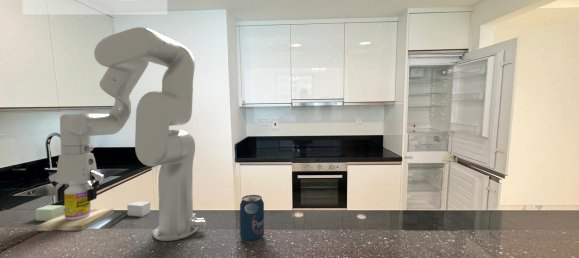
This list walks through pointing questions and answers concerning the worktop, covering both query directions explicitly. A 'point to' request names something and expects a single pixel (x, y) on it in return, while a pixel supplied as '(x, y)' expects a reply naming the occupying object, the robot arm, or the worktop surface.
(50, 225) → the birch board
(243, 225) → the soda can
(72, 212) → the supplement bottle
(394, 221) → the worktop surface
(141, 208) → the white block
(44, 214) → the green block
